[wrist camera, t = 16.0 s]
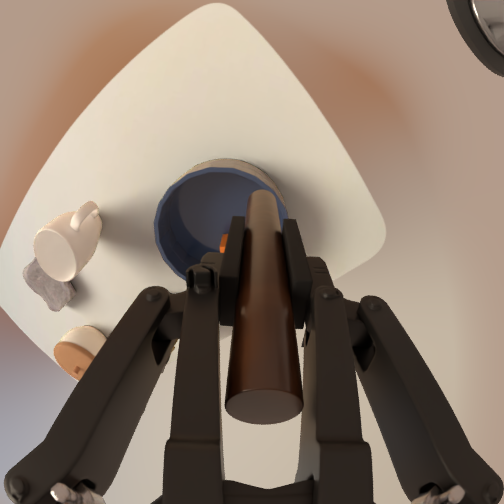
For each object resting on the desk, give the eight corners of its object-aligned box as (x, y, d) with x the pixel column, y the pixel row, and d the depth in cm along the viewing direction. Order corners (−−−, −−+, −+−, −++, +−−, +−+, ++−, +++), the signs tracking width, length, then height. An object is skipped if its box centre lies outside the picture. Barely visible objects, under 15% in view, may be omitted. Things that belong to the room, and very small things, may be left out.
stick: (277, 190, 23) (311, 388, 7) (275, 217, 24) (296, 425, 8) (247, 188, 23) (223, 386, 7) (246, 215, 24) (225, 423, 8)
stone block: (49, 239, 44) (26, 266, 45) (38, 248, 40) (16, 277, 41) (87, 282, 49) (62, 306, 50) (79, 295, 45) (54, 319, 46)
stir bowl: (291, 162, 36) (297, 171, 31) (279, 272, 45) (282, 295, 39) (164, 158, 36) (149, 167, 31) (171, 266, 44) (161, 287, 39)
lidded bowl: (61, 318, 52) (39, 351, 42) (100, 313, 50) (77, 352, 41) (89, 356, 58) (72, 390, 48) (128, 355, 56) (113, 394, 46)
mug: (98, 254, 44) (65, 292, 34) (65, 222, 41) (26, 255, 31) (134, 206, 40) (99, 240, 29) (97, 170, 37) (52, 194, 27)
